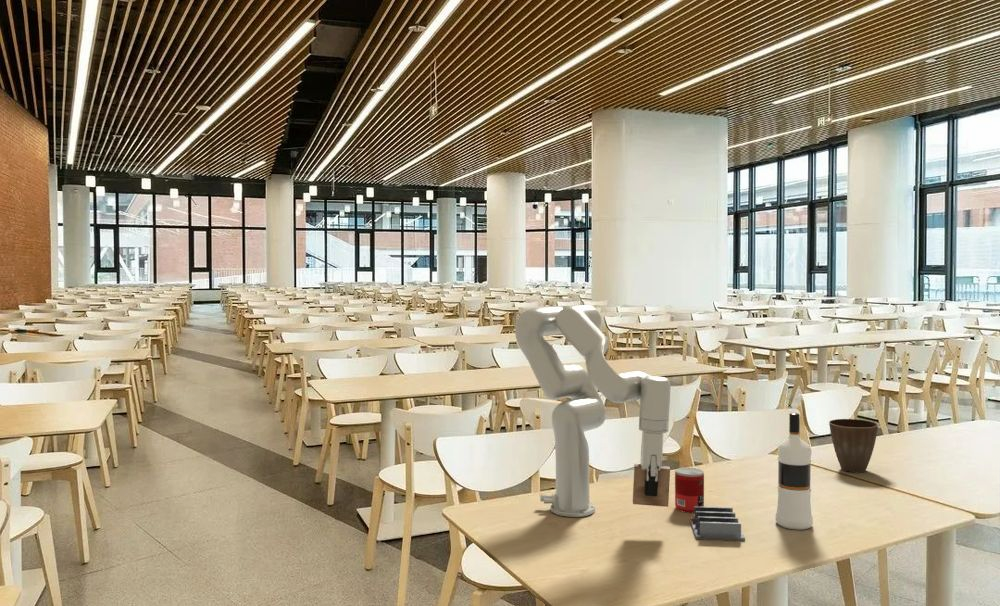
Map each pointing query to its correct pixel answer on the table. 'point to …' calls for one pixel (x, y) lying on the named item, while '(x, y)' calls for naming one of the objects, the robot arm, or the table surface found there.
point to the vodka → (794, 480)
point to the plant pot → (853, 442)
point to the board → (639, 487)
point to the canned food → (689, 489)
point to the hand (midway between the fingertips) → (650, 493)
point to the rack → (716, 524)
